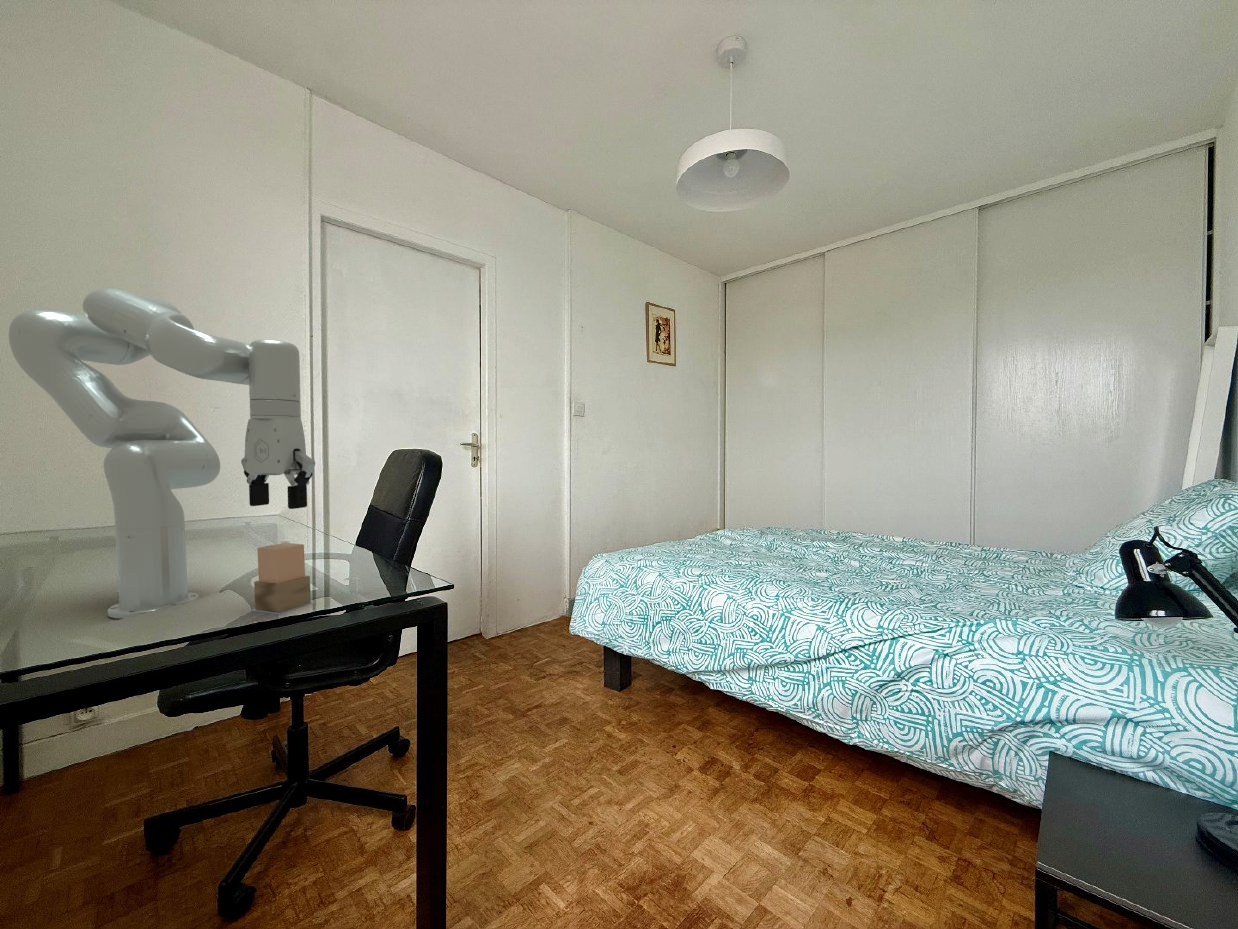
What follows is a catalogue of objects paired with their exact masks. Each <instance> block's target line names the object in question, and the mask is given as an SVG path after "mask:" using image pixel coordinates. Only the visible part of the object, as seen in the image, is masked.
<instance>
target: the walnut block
mask: <svg viewBox="0 0 1238 929" xmlns="http://www.w3.org/2000/svg"><path fill="white" fill-rule="evenodd" d="M253 582H254V583H253V584H254V585H253V586H254V602H255V603H254V606H255V607H254V609H256V610H262V611H269V612H275V613H281V612H284V611H287V610H290V609H293V608H296V607H299V606H302V605H305V604H308V603H311V602H312V601H311V600H312V599H311V575H305V577H302V578H298V579H294V580H291V581H287V582H283V583H279V584H276V583H268V582H261V581H259V580H256V581H253Z"/></svg>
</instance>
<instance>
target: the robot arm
mask: <svg viewBox="0 0 1238 929" xmlns="http://www.w3.org/2000/svg"><path fill="white" fill-rule="evenodd" d="M82 310H83V313H84V315H80V314H77V313H72V312H66V311H61V310H60V311H59V310H53V309H52V310H51V309H32V310H26V311H23V312H21V313H19V314H16V316H15V317H14V318H13V319H12V321H11V322H10V324H9V327H8V341H9V348H10V350H11V353H12V356H13V358H14V359H15V361H16V363H17V364H18V365H19V367H20V368H21V369H22V371H23V372H24V373H25V374H26V375H27V376H28V377H29V378H30V379H32V381H33V382H35V383H36V384H37V385H38V387H39V386H40V388H42V390H44V391H45V392H46V393H47V394H48V395H49V396H50V397H51V398H52V399H53V400H54V401H55V402H56V404H57V405H58V406H59V407H60V409H61V410H62V411H63V413H65V415H66V416H67V417H68V418H69V419H70V421H71V422H72V423H73V424H74V425H75V426H76V427H77V429H78V430H79V431H80V432H81V433H82V434H83V435H84V437H85V438H87V440H89V442H91V443H92V444H94V445H95V446H98V447H99V448H108V449H110V450H109V451H108V452H107V453H106V455H105V457H104V460H103V472H104V476H105V479H106V482H107V484H108V485H107V486H108V488H109V490H110V495H111V500H112V505H113V512H114V513H113V515H114V529H115V530H114V531H115V546H116V547H115V549H116V564H117V565H116V566H117V567H116V568H117V583H118V588H117V589H116V591H115V592H116V594H117V595H118V603H116V604H113V605H112V606H110V607H109V608H108V609H107V616H108V617H110V618H112V619H123V620H124V619H127V618H130V617H134V616H138V615H142V614H146V613H149V612H153V611H157V610H158V611H159V610H161V609H165V608H168V607H172V606H176V605H180V604H183V603H188V602H191V601H195V600H199V599H200V598H199V593H196V592H191V591H189V586H188V584H189V583H188V567H187V566H188V565H187V563H188V562H187V560H188V559H187V544H186V540H187V539H186V522H185V521H186V520H185V512H184V509H183V506H182V504H181V502H180V501H179V499H178V498H177V497H176V496H175V495H174V493H173V492H172V490H179V489H188V488H197V487H201V486H202V487H203V486H205V485H208V484H210V483H212V482H213V481H215V479H216V478H217V477H218V476H219V474H220V472H221V460H220V457H219V454H218V453H217V451H216V449H215V448H214V447H213V445H212V444H211V443H210V442H209V440H208V439H207V438H206V437H205V436H204V435H203V434H202V432H201V431H200V430H199V429H198V428H197V427H196V425H195V424H194V423H193V422H192V421H191V420H190V419H189V417H188V416H187V415H186V414H185V413H184V412H183V411H181V410H180V409H179V408H177V407H175V406H174V405H171V404H168V403H166V402H163V401H153V400H145V399H144V400H142V399H135V398H132V397H131V398H130V397H128V396H126V395H125V394H123V393H122V392H121V391H120V389H118V387H117V386H115V384H114V383H113V382H112V380H111V379H110V378H108V377H107V376H106V375H105V374H104V373H102V372H101V371H99V370H98V369H96V368H94V367H93V366H91V365H89V364H87V363H86V362H91V363H98V364H99V363H100V364H105V365H115V366H120V365H121V366H123V365H129V364H133V363H136V362H138V361H141V360H143V359H144V358H148V357H149V356H151V357H152V359H153V360H155V361H156V362H158V363H159V364H160V365H161V364H162V365H164V366H166V367H168V368H170V369H173V370H175V371H178V372H180V373H182V374H185V375H187V376H190V377H192V378H197V379H201V380H209V381H214V382H215V381H218V382H224V383H231V384H236V385H246V386H248V388H249V389H248V390H249V392H248V394H249V418H248V422H247V425H246V429H245V430H246V431H245V437H244V439H245V441H244V457H242V459H241V460H240V463H241V466H242V468H243V474H244V476H245V477H246V483H247V485H248V495H249V497H248V498H249V499H248V500H249V506H250V507H258V506H266V505H267V506H268V505H269V504H270V483H269V482H267V480H268V479H269V476H282V475H284V476H285V478H286V479H287V481H288V483H289V485H287V508H288V509H290V510H295V509H302V508H308V489H307V488H308V486H309V484H310V479H311V478H312V477H313V471H314V470H315V466H316V461H315V460H314V459H312V458H311V457H310V456H308V455H307V450H306V449H307V448H306V439H305V432H304V426H303V425H304V424H303V421H302V410H301V409H302V408H301V368H300V367H301V366H300V351H299V348H298V347H297V346H296V345H294V344H293V343H291V342H287V341H283V340H275V339H257V340H253V341H252V342H250V343H247V342H242V341H241V342H240V341H238V340H233V339H229V338H226V337H225V338H224V337H222V336H216V335H213V334H212V335H210V334H207V333H203V332H200V331H198V330H195V328H194V324H193V323H192V322H191V320H189V318H188V317H187V316H186V315H184V314H183V313H182V312H181V310H179V309H178V308H177V306H175V305H173V304H172V303H169V302H167V301H164V300H161V299H158V298H154V297H150V296H146V295H144V294H139V293H136V292H132V291H129V290H124V289H120V288H113V287H108V288H107V287H105V288H104V287H103V288H98V289H96V290H92V291H91V292H89V293H88V294H87V295H86V296H85V297H84V299H83V302H82Z"/></svg>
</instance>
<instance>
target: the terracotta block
mask: <svg viewBox="0 0 1238 929" xmlns="http://www.w3.org/2000/svg"><path fill="white" fill-rule="evenodd" d="M305 562H306V561H305V544H303V543H293V542H292V543H291V542H282V543H281V542H280V543H277V544H270V545H266V546H260V547H257V567H258V570H257V571H258V581H261V582H268V583H276V584H279V583H283V582H287V581H291V580H294V579H298V578H302V577H305V576H306V565H305V564H306V563H305Z"/></svg>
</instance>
